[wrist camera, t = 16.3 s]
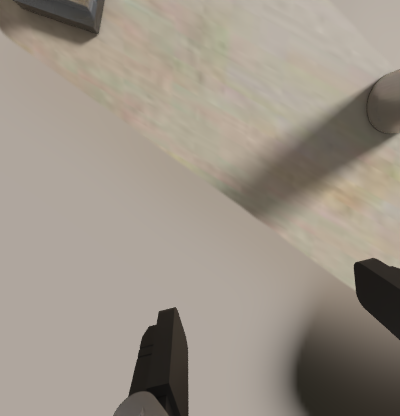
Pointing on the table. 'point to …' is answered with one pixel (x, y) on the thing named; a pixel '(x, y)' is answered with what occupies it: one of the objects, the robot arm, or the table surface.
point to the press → (68, 11)
